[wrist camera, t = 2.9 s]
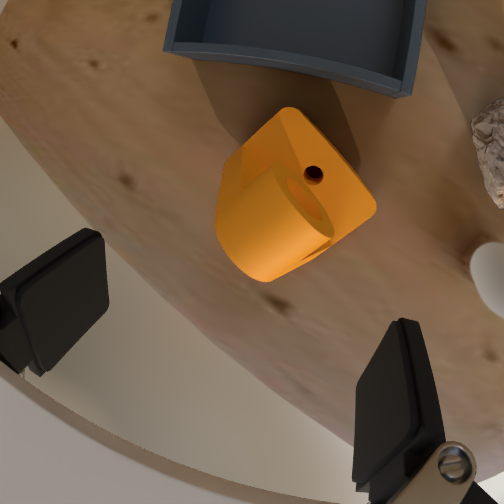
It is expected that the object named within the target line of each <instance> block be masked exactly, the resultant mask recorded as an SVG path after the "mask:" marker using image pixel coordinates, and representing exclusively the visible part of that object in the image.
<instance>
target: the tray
mask: <svg viewBox="0 0 504 504" xmlns="http://www.w3.org/2000/svg"><path fill="white" fill-rule="evenodd" d="M425 10H426V0H173V4H172V8H171V13H170V17H169V22H168V27H167V32H166V37H165V42H164V48H163V52H167V53H171V54H175V55H179V56H183V57H187V58H190V59H194V60H208V61H220V62H230V63H239V64H247V65H254V66H261V67H268V68H274V69H280V70H286V71H291V72H297V73H302V74H307V75H311V76H316V77H320V78H325V79H329V80H333V81H337V82H341V83H345V84H349V85H353V86H356V87H360V88H363V89H367V90H370V91H373V92H377V93H380V94H383V95H386V96H389V97H392V98H395V99H396V98H400V97H405V96H411V94H412V89H413V85H414V80H415V74H416V69H417V64H418V58H419V52H420V46H421V39H422V33H423V26H424V18H425Z"/></svg>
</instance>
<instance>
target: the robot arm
mask: <svg viewBox="0 0 504 504" xmlns="http://www.w3.org/2000/svg"><path fill="white" fill-rule="evenodd" d="M0 291H1V295H0V504H338V503H331V502H324V501H317V500H312V499H306V498H301V497H295V496H290V495H285V494H280V493H276V492H271V491H267V490H263V489H258V488H254V487H251V486H247V485H243V484H239V483H236V482H232V481H229V480H226V479H222V478H219V477H216V476H213V475H210V474H207V473H204V472H201V471H198V470H195V469H193V468H190V467H187V466H184V465H181V464H179V463H177V462H174V461H171V460H169V459H166V458H164V457H162V456H159V455H157V454H154V453H152V452H150V451H148V450H145V449H143V448H141V447H139V446H137V445H134V444H132V443H130V442H128V441H126V440H124V439H122V438H120V437H118V436H116V435H114V434H112V433H110V432H108V431H106V430H105V429H103V428H100V427H99V426H97V425H95V424H94V423H92V422H90V421H88V420H86V419H85V418H83V417H81V416H80V415H78V414H76V413H75V412H73V411H71V410H70V409H68V408H66V407H65V406H63V405H62V404H60V403H58V402H57V401H55V400H54V399H52V398H51V397H49V396H48V395H46V394H45V393H43V392H42V391H40V390H39V389H37V388H36V387H35V386H33V385H32V384H30V383H29V382H27V381H26V380H25V379H24V371H25V367H26V366H27V365H28V367H29V369H30V370H31V371H32V372H33V373H35V374H36V375H38V376H39V377H41V376H42V375H43V374H44V373H45V372H46V371H50V370H51V369H52V368H53V367H54V366H55V365H56V364H57V363H58V362H59V361H60V359H61V358H62V357H63V356H64V355H65V354H66V353H67V352H68V351H69V350H70V349H71V348H72V347H73V345H74V344H75V343H76V342H77V341H78V340H79V339H80V338H81V337H82V336H83V335H84V334H85V333H86V332H87V331H88V330H89V329H90V328H91V326H93V324H95V322H96V321H97V320H98V319H99V318H100V317H101V316H102V315H103V314H104V313H105V312H106V311H107V309H108V307H109V295H108V285H107V273H106V259H105V242H104V239H103V238H102V235H101V233H100V232H98V231H95V230H91V229H88V228H83V229H81V230H80V231H78V232H76V233H75V234H73V235H72V236H70V237H68V238H67V239H65V240H63V241H62V242H60V243H59V244H57V245H56V246H54V247H52V248H51V249H49V250H48V251H46V252H45V253H43V254H42V255H40V256H39V257H37V258H36V259H34V260H33V261H31V262H30V263H28V264H27V265H25V266H24V267H22V268H21V269H20V270H18V271H17V272H15V273H14V274H12V275H11V276H10V277H8V278H7V279H5V280H4V281H2V282H1V283H0ZM476 467H477V465H476V461H475V458H474V456H473V454H472V452H471V451H470V450H469V449H468V448H467V447H466V446H464V445H463V444H461V443H459V442H455V441H448V442H446V439H445V432H444V426H443V421H442V415H441V410H440V405H439V400H438V395H437V390H436V386H435V382H434V377H433V373H432V369H431V365H430V361H429V357H428V354H427V350H426V346H425V342H424V339H423V335H422V332H421V328H420V325H419V323H418V322H417V321H413V320H409V319H405V318H399V319H398V321H393V322H392V323H391V324H390V326H389V328H388V330H387V332H386V334H385V335H384V337H383V339H382V341H381V343H380V344H379V346H378V348H377V350H376V352H375V353H374V355H373V357H372V359H371V360H370V362H369V364H368V365H367V367H366V369H365V370H364V372H363V374H362V375H361V377H360V379H359V381H358V383H357V386H356V409H355V437H354V456H353V469H352V481H353V482H356V492H366V493H369V501H370V502H369V503H367V504H498V503H497V502H496V501H495V500H494V499H493V498H491V497H490V496H489V495H488V494H487V493H486V492H485V491H484V490H483V489H482V488H481V487H480V486H479V485H478V484H477V483H476V482H475V481H474V478H475V475H476Z"/></svg>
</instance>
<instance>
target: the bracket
mask: <svg viewBox="0 0 504 504" xmlns="http://www.w3.org/2000/svg"><path fill="white" fill-rule="evenodd" d="M309 166H317V167H319V168H320V169H321V170H322V172H323V175H322V176H321V177H319V178H312V177H310V176H309V175H308V173H307V170H306V168H307V167H309ZM375 211H376V202H375V200H374V197H373V195H372V193H371V192H370V191H369V189H368V188H367V187H366V185H365V184H364V183H363V182H362V180H361V179H360V177H359V175H358V174H357V173H356V172H355V170H354V169H353V168H352V167H351V166H350V164H349V163H348V162H347V161H346V159H345V158H344V157H343V156H342V155H341V154H340V152H339V151H338V150H337V149H336V148H335V146H334V145H333V144H332V143H331V142H330V141H329V140H328V138H327V137H326V136H325V135H324V134H323V133H322V132H321V130H320V129H319V128H318V127H317V126H315V125H314V124H313V123H312V122H311V121H310V119H309V118H308V117H307V116H306V115H305V114H304V113H303V112H302V111H301V110H300V109H298V108H294V107H285V108H283V109H281V110H280V111H279V112H278V113H277V114H276V115H275V116H273V117H272V118H271V119H270V120H269V121H268V122H267V123H266V124H265V125H264V126H263V127H261V128H260V129H259V130H258V131H257V132H256V133H255V134H254V135H253V136H252V137H251V138H250V139H249V140H248V141H247V142H245V143H244V144H243V145H242V146H241V147H240V148H239V149H238V150H237V151H236V152H235V153H234V154H233V155H232V156H231V157H230V158H229V159H228V160H227V161H226V162H225V163H224V168H223V173H222V179H221V185H220V191H219V197H218V203H217V210H216V216H215V231H216V234H217V237H218V239H219V242H220V244H221V246H222V247H223V249H224V251H225V252H226V254H227V255H228V256H229V258H230V259H231V260H232V261H233V262H234V264H235V265H236V266H237V267H238V268H240V269H241V270H242V271H243V272H244V273H246V274H247V275H248V276H250V277H252V278H254V279H256V280H258V281H262V282H270V281H272V280H274V279H276V278H278V277H280V276H282V275H284V274H286V273H288V272H290V271H291V270H293V269H295V268H297V267H299V266H301V265H303V264H305V263H307V262H308V261H310V260H312V259H314V258H315V257H316V256H318V255H319V254H321V253H322V252H323V251H325V250H326V249H328V248H329V247H330V246H332V245H333V244H335V243H336V242H337V241H339V240H340V239H342V238H343V237H344V236H346V235H347V234H348V233H350V232H351V231H353V230H354V229H355V228H357V227H358V226H359V225H361V224H362V223H363V222H365V221H366V220H368V219H369V218H370V217H372V216H373V215H374V213H375Z"/></svg>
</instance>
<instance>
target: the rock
mask: <svg viewBox="0 0 504 504" xmlns="http://www.w3.org/2000/svg"><path fill="white" fill-rule="evenodd" d="M471 126H472V129H473V143H474V145H475V147H476V151H477V156H478V161H479V167H480V169H481V172H482V176H483V178H484V184H485V188H486V191H487V192H488V194H489V195H490V197H491V198H492V199H493V200H494V202H495V203H496V205H497V206H498V207H499V209H500V210H502V209H504V99H502V100H499V99H497V100H496V101H494V102H493V103H492V104H488V105H487V106H486V107H484V108H483V109H482V110H481V111H480V112H479V114H477V115H475V116H474V118H473V120H472V123H471Z"/></svg>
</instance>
